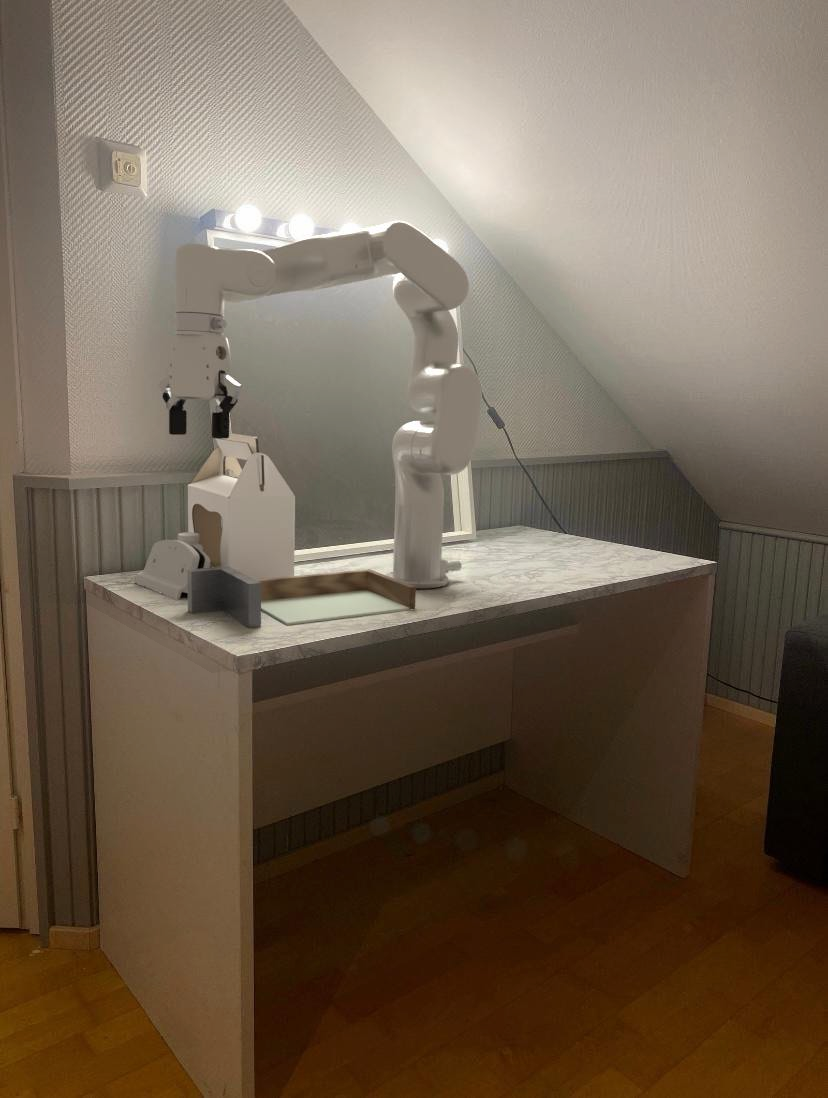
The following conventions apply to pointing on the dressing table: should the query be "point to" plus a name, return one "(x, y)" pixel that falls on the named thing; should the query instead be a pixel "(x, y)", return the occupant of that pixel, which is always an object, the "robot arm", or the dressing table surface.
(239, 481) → the gable box
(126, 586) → the dressing table surface
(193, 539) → the pill bottle
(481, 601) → the dressing table surface
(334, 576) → the walnut wall long
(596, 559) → the dressing table surface
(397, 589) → the walnut wall short
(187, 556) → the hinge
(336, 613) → the sage mat
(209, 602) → the bracket
